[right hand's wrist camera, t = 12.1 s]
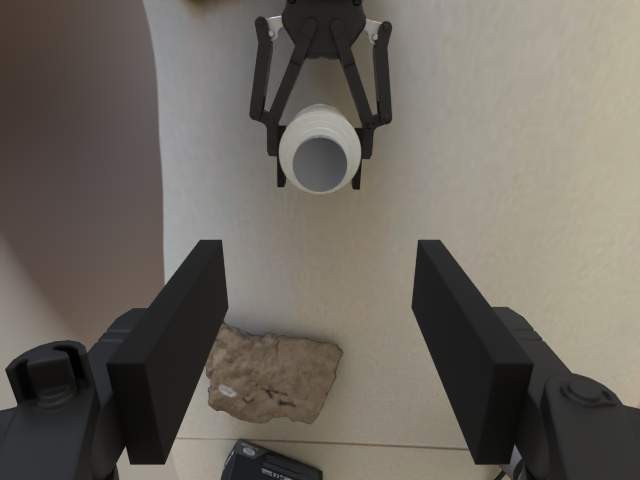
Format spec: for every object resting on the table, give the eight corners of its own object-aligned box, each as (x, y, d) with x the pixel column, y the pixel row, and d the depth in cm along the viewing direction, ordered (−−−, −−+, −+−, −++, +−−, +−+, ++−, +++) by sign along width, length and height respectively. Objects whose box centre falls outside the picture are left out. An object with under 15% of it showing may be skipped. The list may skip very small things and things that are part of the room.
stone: (187, 399, 62) (183, 424, 56) (207, 310, 60) (205, 326, 54) (315, 412, 67) (323, 436, 62) (338, 331, 65) (348, 348, 60)
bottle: (280, 114, 49) (259, 132, 32) (341, 95, 49) (353, 102, 32) (299, 174, 52) (290, 219, 35) (357, 157, 51) (376, 194, 34)
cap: (286, 143, 34) (285, 146, 32) (337, 127, 34) (338, 129, 32) (303, 193, 36) (302, 198, 34) (352, 178, 35) (353, 183, 34)
